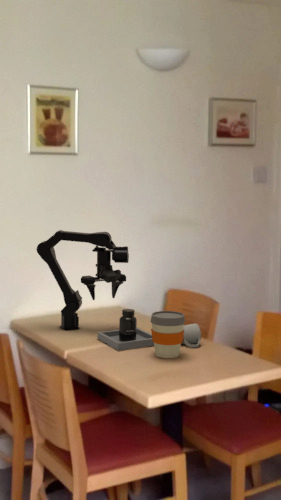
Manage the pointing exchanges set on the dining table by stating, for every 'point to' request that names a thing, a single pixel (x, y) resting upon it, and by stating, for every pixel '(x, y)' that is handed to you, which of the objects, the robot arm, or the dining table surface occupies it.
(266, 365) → the dining table surface
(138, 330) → the tray
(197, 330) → the ceramic mug
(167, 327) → the reusable coffee cup
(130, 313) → the supplement bottle
